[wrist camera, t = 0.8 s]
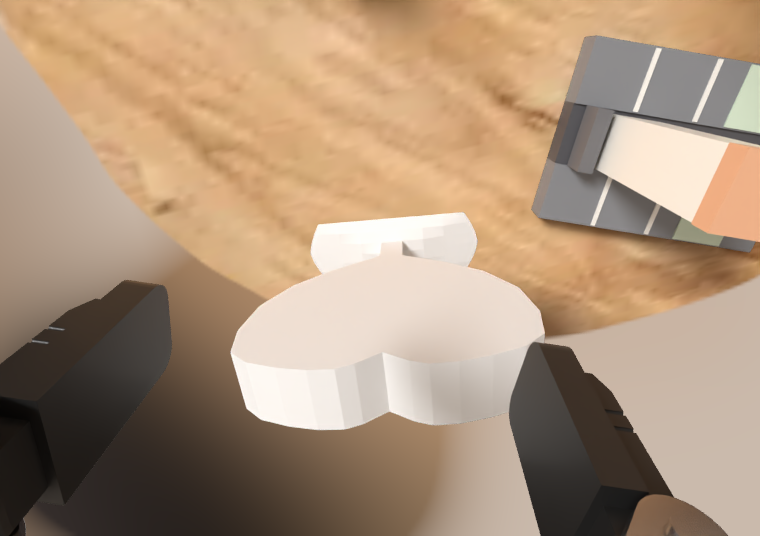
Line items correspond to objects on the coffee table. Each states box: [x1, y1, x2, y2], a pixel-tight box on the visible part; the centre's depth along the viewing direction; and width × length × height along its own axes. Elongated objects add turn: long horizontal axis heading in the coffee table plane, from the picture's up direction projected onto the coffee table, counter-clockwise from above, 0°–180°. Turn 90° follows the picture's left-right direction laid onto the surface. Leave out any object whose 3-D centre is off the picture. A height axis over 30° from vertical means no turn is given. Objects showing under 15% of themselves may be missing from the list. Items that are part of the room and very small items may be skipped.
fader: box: [594, 114, 760, 242], centre depth 24 cm, size 4×4×13 cm
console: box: [531, 36, 760, 252], centre depth 31 cm, size 12×16×4 cm
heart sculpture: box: [230, 212, 545, 430], centre depth 28 cm, size 16×5×18 cm, turn 96°
